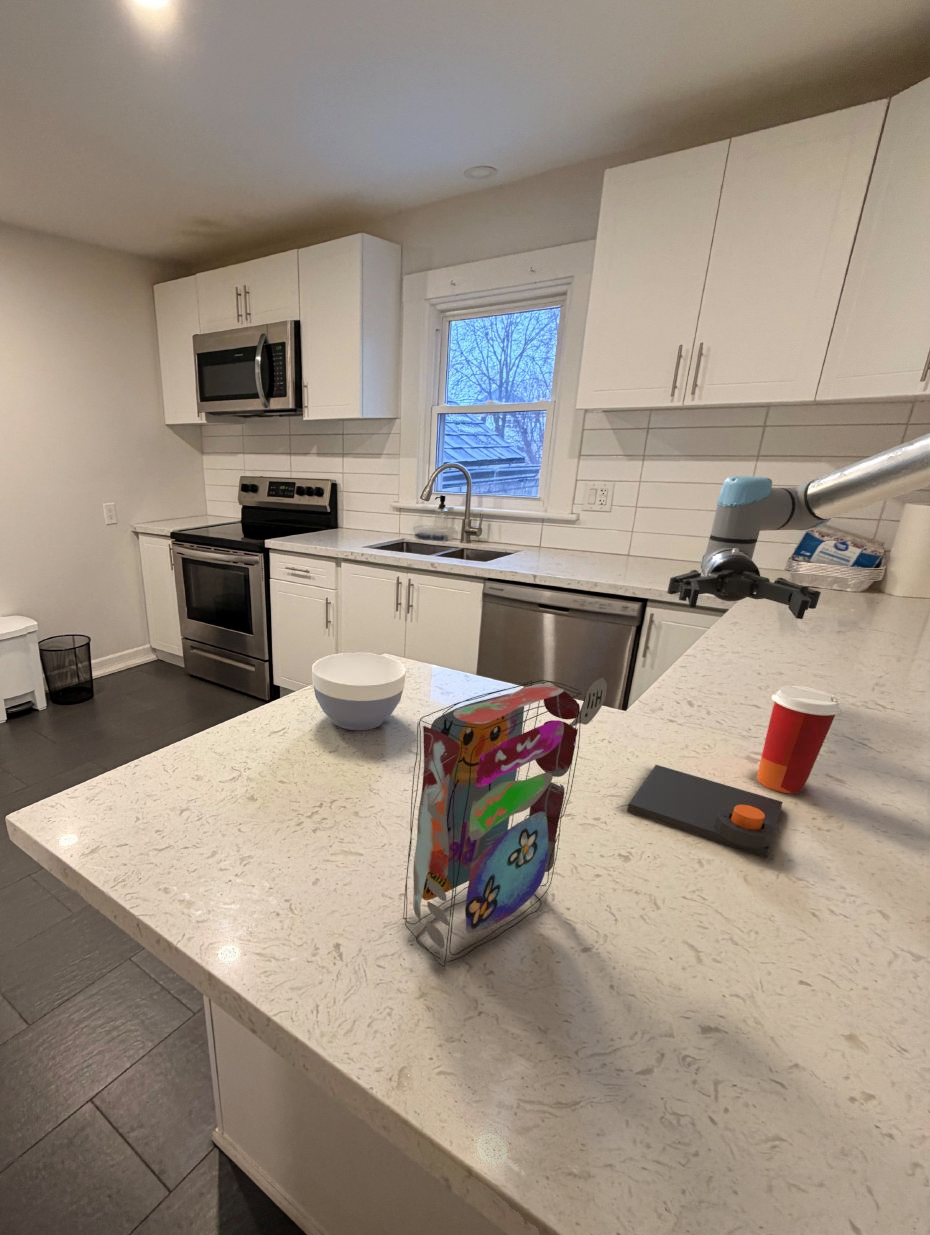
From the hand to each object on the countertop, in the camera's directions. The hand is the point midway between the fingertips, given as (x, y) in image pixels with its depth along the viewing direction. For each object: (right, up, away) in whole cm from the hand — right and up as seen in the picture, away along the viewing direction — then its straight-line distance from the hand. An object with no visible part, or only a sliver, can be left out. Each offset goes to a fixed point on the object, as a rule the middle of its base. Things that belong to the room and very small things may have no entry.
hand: (747, 604), depth 93 cm
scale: (-10, -29, -7) cm, 31 cm away
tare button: (-9, -29, -14) cm, 34 cm away
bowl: (-56, -18, +19) cm, 62 cm away
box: (-42, -36, -24) cm, 60 cm away
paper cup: (+5, -26, 0) cm, 27 cm away
